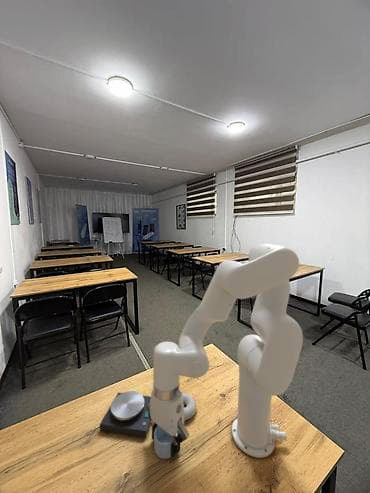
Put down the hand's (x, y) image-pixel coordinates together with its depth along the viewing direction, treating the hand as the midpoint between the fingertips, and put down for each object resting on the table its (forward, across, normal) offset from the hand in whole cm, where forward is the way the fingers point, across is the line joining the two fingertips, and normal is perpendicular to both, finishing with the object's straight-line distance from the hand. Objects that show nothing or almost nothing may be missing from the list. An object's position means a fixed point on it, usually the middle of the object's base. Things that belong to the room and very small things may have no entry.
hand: (165, 443), depth 61 cm
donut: (+1, +4, -13) cm, 13 cm away
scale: (+1, +16, 0) cm, 16 cm away
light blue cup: (+1, 0, 0) cm, 1 cm away
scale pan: (-3, +17, +1) cm, 17 cm away
